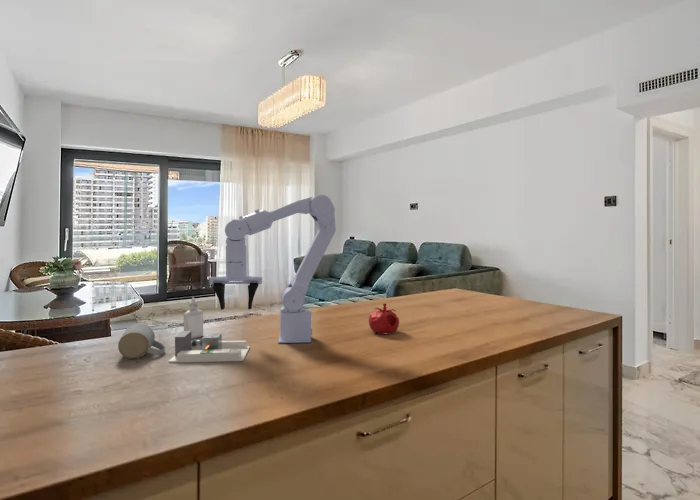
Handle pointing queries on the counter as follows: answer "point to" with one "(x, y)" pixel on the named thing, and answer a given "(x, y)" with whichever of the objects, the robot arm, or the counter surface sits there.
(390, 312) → the pomegranate
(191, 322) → the eye dropper bottle
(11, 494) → the counter surface
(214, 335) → the plunger
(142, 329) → the ceramic mug
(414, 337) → the counter surface
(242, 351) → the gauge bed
